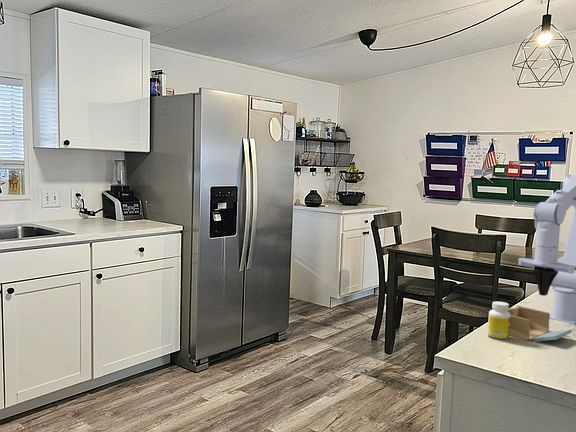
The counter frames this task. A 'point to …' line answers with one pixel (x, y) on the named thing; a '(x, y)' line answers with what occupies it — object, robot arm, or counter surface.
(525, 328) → the box
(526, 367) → the counter surface
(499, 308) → the supplement bottle
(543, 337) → the panel
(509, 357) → the counter surface
